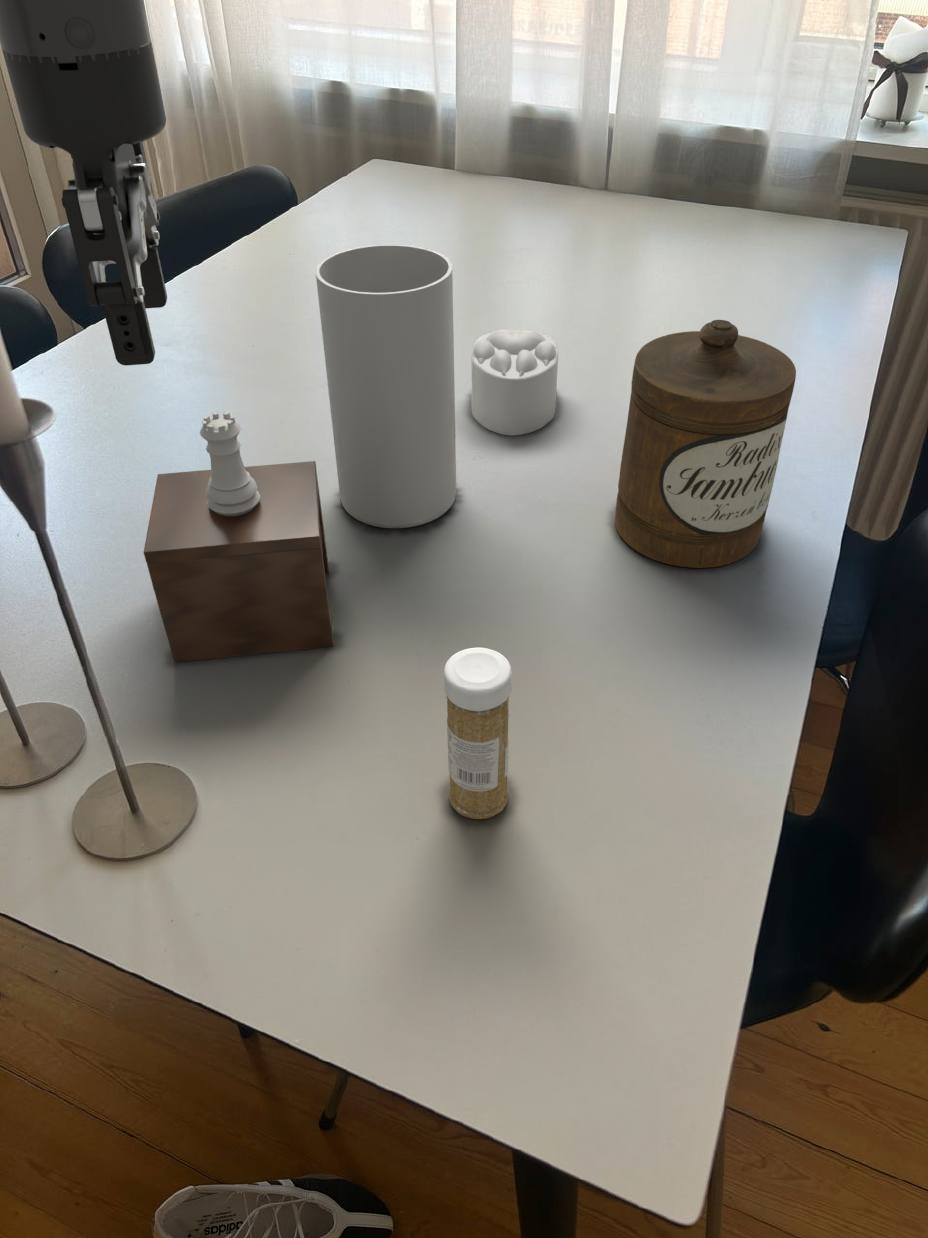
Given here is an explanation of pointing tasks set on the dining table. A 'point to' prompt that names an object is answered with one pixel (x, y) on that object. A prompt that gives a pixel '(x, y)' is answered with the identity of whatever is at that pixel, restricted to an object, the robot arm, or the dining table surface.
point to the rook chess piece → (227, 468)
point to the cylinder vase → (390, 381)
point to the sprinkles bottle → (478, 731)
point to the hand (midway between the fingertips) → (144, 332)
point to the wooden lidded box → (240, 566)
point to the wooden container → (702, 445)
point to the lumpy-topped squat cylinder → (514, 381)
